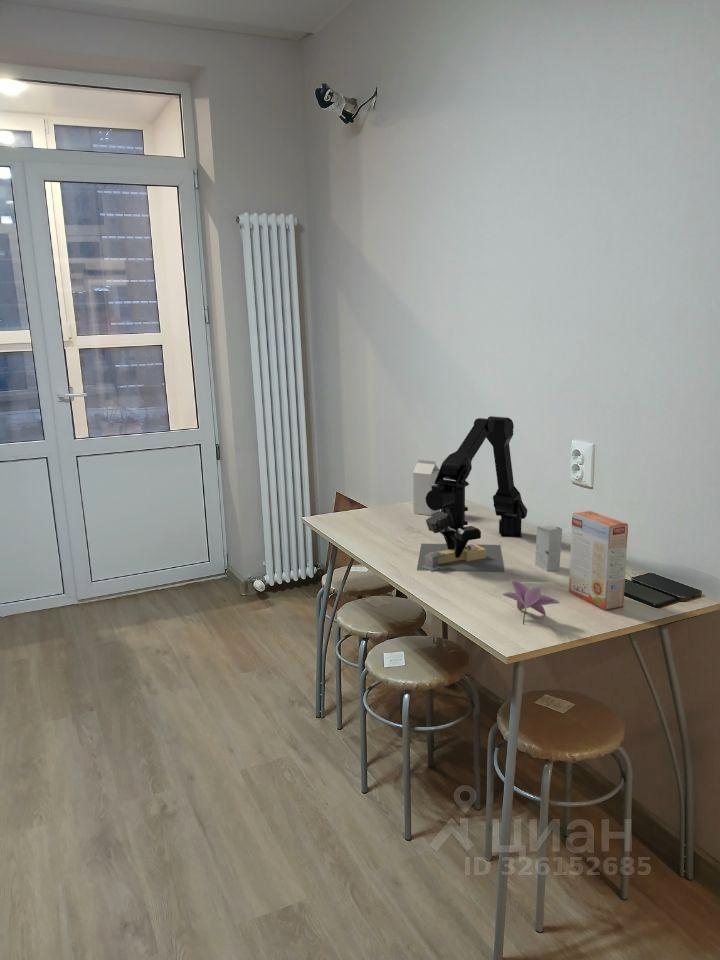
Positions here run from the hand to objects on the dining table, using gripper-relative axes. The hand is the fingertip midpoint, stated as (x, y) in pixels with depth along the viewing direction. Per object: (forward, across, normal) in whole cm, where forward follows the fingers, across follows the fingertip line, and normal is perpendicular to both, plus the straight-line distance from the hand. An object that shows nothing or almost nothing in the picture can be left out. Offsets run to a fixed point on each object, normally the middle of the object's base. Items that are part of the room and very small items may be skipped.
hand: (454, 555), depth 216 cm
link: (+1, 0, 0) cm, 1 cm away
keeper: (+1, +4, -10) cm, 10 cm away
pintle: (+1, 0, +6) cm, 6 cm away
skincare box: (+2, +18, +19) cm, 26 cm away
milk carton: (+2, -51, +20) cm, 55 cm away
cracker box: (+2, +42, +14) cm, 45 cm away
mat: (+1, -1, +3) cm, 3 cm away
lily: (+2, +44, -7) cm, 45 cm away
